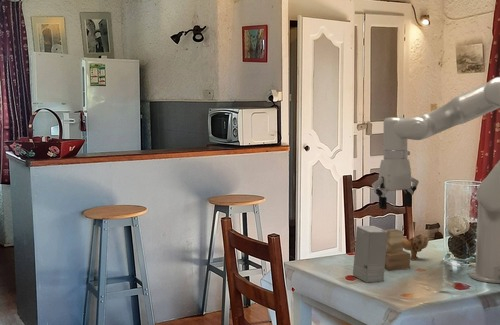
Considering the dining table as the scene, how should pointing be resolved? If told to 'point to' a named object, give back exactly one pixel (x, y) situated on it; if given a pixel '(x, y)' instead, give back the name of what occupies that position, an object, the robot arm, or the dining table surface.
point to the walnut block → (397, 261)
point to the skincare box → (370, 253)
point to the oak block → (394, 241)
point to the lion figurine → (415, 245)
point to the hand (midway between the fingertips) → (395, 207)
